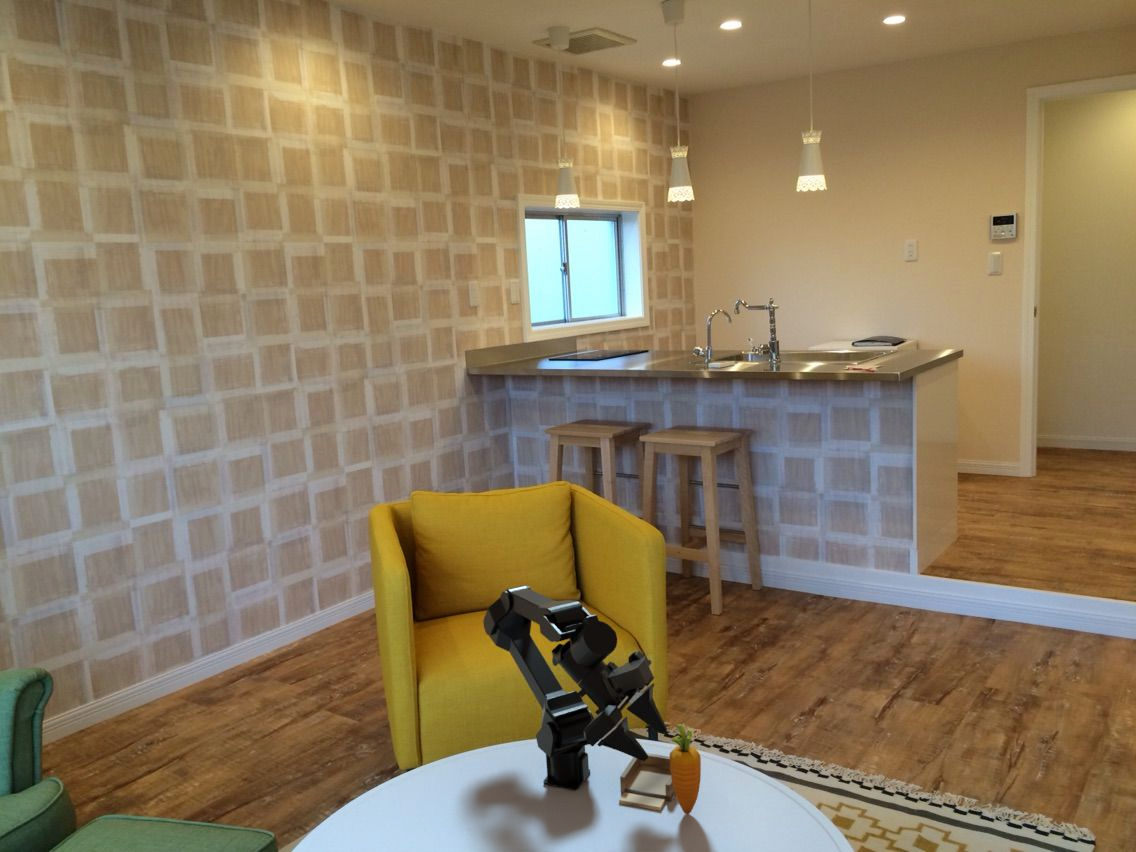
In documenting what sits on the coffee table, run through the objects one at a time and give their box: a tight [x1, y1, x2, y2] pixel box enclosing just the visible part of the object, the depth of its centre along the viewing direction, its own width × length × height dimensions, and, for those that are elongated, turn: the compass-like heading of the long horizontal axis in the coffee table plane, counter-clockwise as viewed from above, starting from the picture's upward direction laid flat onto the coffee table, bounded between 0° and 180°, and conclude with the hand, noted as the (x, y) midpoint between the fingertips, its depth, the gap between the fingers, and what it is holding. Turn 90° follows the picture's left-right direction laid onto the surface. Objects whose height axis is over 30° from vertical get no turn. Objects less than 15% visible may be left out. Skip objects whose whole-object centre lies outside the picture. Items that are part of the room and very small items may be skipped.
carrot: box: [669, 723, 702, 816], centre depth 149 cm, size 5×5×15 cm
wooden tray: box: [618, 752, 675, 812], centre depth 158 cm, size 9×12×3 cm
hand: (656, 745), depth 150 cm, fingers open, 9 cm apart
